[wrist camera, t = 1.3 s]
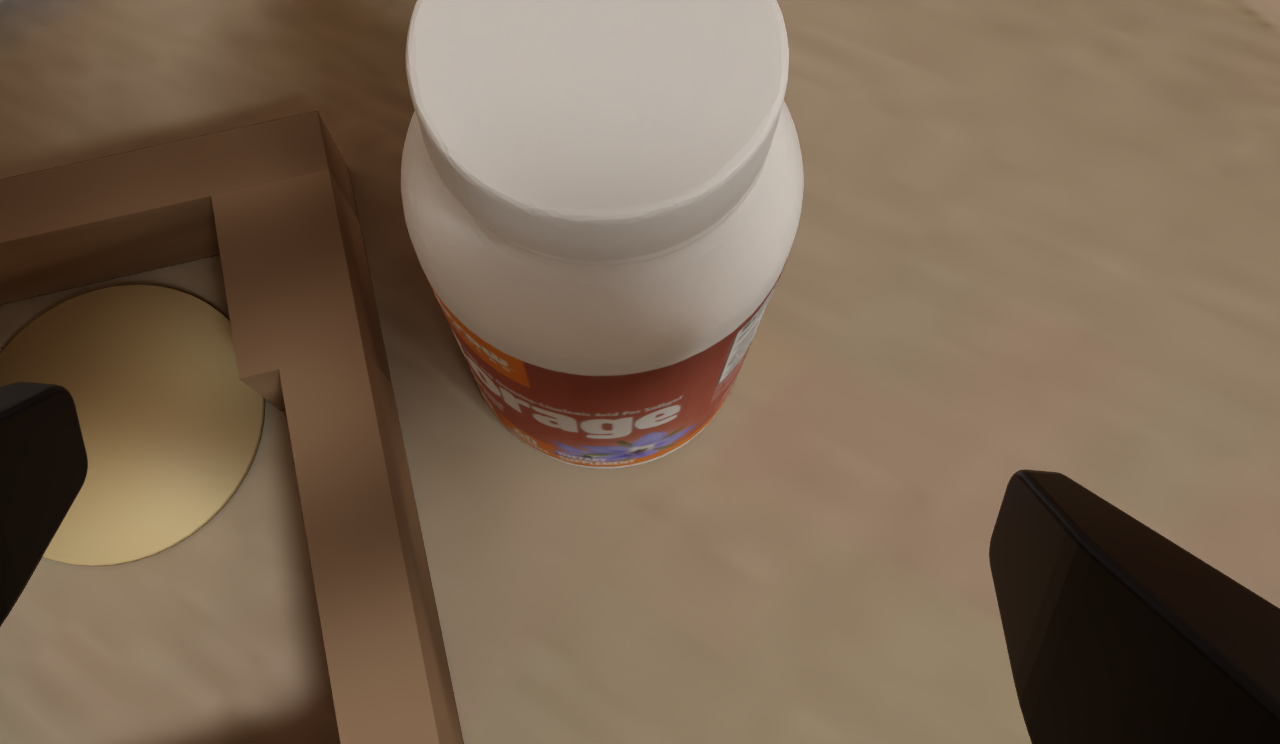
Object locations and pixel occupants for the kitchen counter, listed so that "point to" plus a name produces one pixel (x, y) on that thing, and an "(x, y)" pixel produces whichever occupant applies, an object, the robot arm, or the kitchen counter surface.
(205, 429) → the wooden rectangular frame
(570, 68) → the pill bottle
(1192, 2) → the kitchen counter surface
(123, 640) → the kitchen counter surface
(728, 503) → the kitchen counter surface
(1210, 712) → the robot arm
